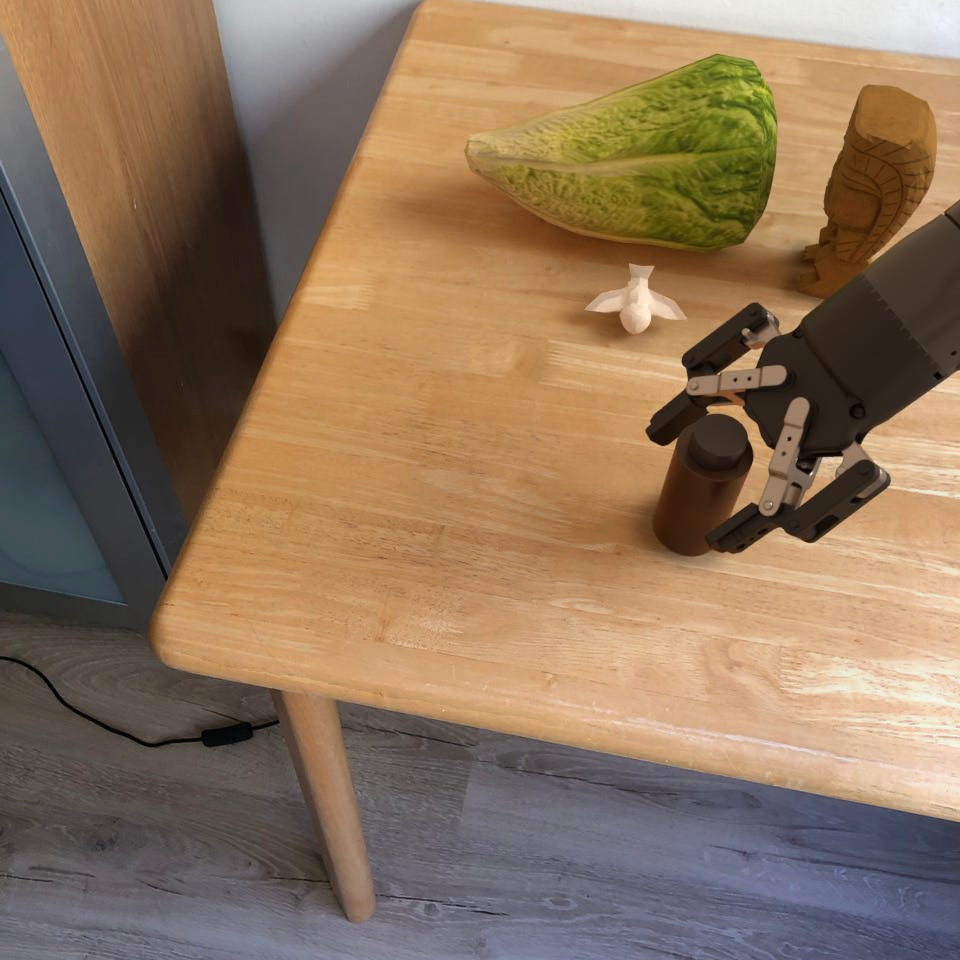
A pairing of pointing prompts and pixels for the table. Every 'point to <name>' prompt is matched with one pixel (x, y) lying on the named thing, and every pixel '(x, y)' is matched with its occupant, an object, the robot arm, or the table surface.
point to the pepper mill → (702, 483)
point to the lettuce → (646, 159)
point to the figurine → (872, 185)
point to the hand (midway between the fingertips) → (682, 491)
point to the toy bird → (637, 302)
